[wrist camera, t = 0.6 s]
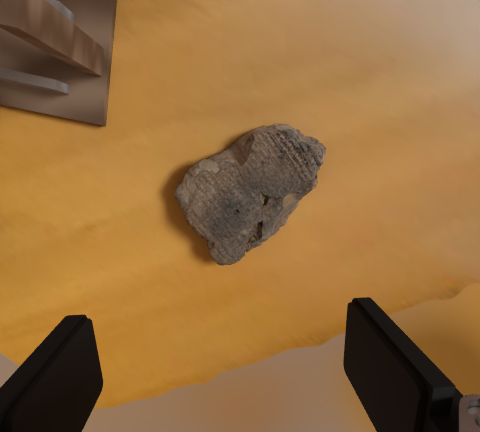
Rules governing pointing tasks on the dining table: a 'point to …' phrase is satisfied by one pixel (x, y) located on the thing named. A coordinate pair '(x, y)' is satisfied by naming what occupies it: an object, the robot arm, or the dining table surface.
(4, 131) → the dining table surface
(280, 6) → the dining table surface
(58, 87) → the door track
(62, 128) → the dining table surface
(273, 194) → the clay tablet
